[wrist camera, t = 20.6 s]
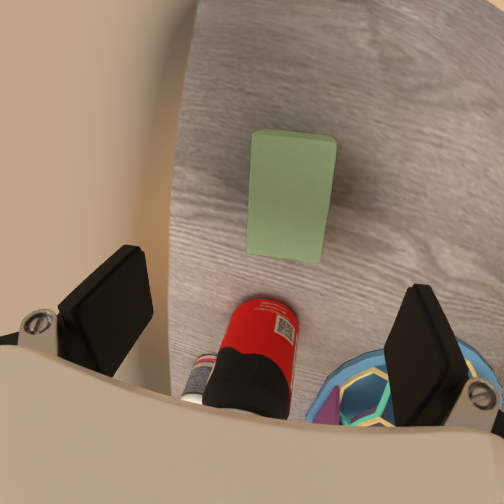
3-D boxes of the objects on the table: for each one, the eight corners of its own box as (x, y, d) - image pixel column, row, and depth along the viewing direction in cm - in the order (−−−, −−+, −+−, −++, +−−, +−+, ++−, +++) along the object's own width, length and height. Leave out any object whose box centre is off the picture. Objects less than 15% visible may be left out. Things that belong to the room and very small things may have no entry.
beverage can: (265, 280, 26) (233, 394, 15) (313, 322, 27) (305, 436, 17) (220, 315, 29) (177, 417, 18) (266, 351, 30) (243, 453, 20)
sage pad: (262, 128, 20) (251, 133, 17) (332, 136, 19) (337, 143, 16) (255, 230, 24) (245, 254, 20) (318, 238, 23) (319, 263, 20)
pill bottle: (188, 367, 34) (163, 426, 26) (207, 347, 31) (181, 412, 24) (225, 387, 35) (206, 447, 27) (248, 370, 32) (230, 436, 24)
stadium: (270, 404, 35) (249, 504, 22) (437, 296, 23) (488, 428, 11) (404, 463, 41) (406, 525, 28) (513, 403, 29) (532, 470, 17)
